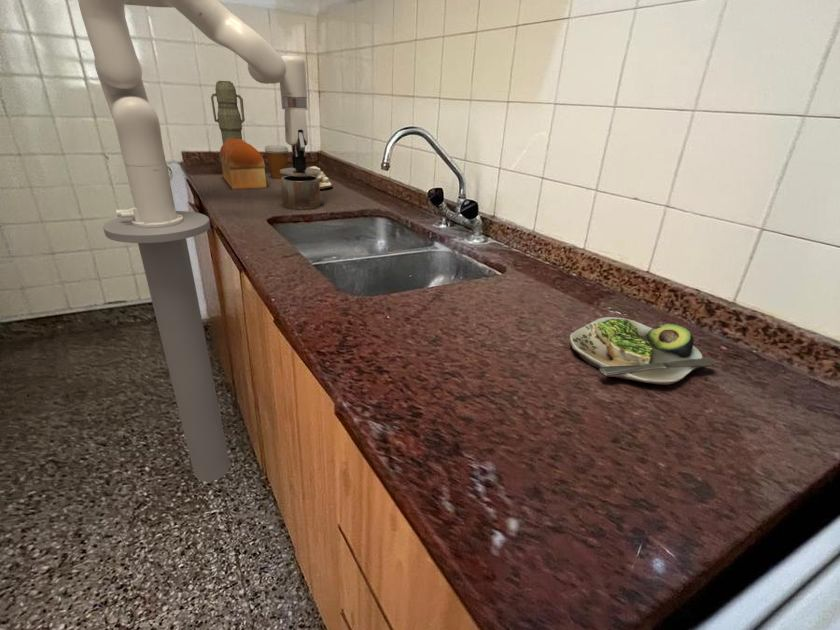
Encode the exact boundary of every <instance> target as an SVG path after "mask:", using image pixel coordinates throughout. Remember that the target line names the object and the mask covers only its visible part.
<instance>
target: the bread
mask: <svg viewBox="0 0 840 630" xmlns="http://www.w3.org/2000/svg"><path fill="white" fill-rule="evenodd" d="M219 149H220V151H219V160H220V162H221V163H220V164H221V168H222V169H221V170H222V177H223V179H224V180H225V182H227V184H229V187H230V188H231V189H232V190H240V189H242V190H243V189H257V188H258V189H259V188H267V180H266V179H267V178H266V164H265V161H264V158H263V156H262V154H261V153H260V152H259V150H257V148H255V147H254V146H253V145H251V143H248V142H247V141H245V140H243V138H242V139H228V140H227V141H226V142H224V144H223V143H222V145H221V147H220V148H219Z"/></svg>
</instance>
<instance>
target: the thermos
mask: <svg viewBox="0 0 840 630" xmlns="http://www.w3.org/2000/svg"><path fill="white" fill-rule="evenodd" d="M214 90H215V93H212V94H211V96H210V100H211V107H212V113H213V121H214V122H216V123H217V124H218V128H219V130H220V134H221V140H222V145H223V144H224V142H226V141H227V140H228V139H242V140H243V134H242V131H243V124H244V122H245V121H246V119H245V118H246V117H245V110H244V109H245V107H244V99H243V97H242V96H241V95H240V94H237V90H236V86H235V85H234V83H233V82H232V81H230V80H218V81H216V82H215V89H214ZM214 97H216V102H217V114H216V108H215V99H214ZM238 99H239V105H240V110H239V106H238ZM240 112H241V113H240Z"/></svg>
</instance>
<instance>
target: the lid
mask: <svg viewBox="0 0 840 630" xmlns="http://www.w3.org/2000/svg"><path fill="white" fill-rule="evenodd" d="M294 154H295V150H294ZM295 156H296V155H295ZM280 173H282V174H286V175H287V176H299V177H303V176H313V175H315V174H319V173H321V169H320V170H319V169H315V168H309V167H306V170H296V169H294V168H293V167H287V168H285V169H281V170H280Z"/></svg>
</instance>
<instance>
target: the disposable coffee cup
mask: <svg viewBox="0 0 840 630" xmlns="http://www.w3.org/2000/svg"><path fill="white" fill-rule="evenodd" d="M289 151H290V150H289V148H288V146H287V145H274V144H273V145H266V146H264V152H265V155H266V160H267V164H268V169H269V173H270V177H271V178H273V179H281V178H282V177H284V176H288V175H286V174H282V173H280V170H281V169H285V168H288V158H289V157H288V156H289Z"/></svg>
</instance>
